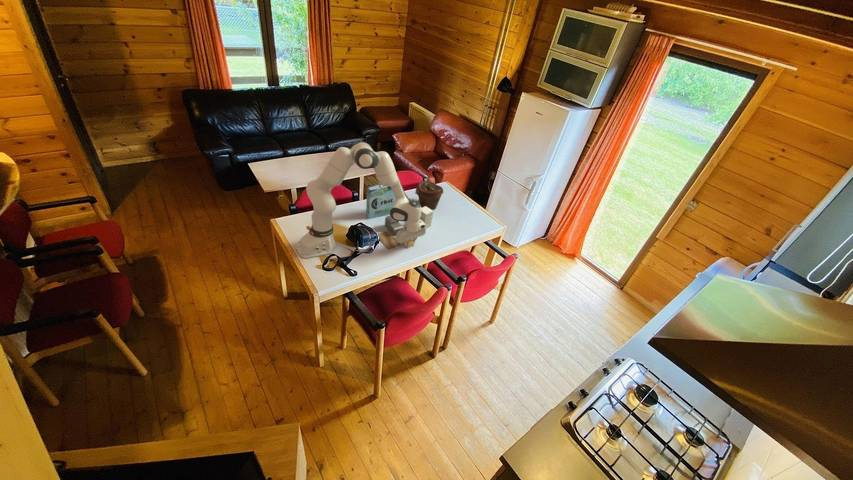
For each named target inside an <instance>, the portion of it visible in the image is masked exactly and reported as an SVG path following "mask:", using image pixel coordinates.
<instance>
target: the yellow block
mask: <svg viewBox="0 0 853 480" xmlns="http://www.w3.org/2000/svg"><path fill="white" fill-rule="evenodd" d="M404 243H405V242H402V244H404ZM407 243H408V245H407V246H406V247H407V248H408V249H409V248H412V247H414V245H415V243H414V241H413V239H411V240H408V241H407Z"/></svg>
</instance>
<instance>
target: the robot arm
mask: <svg viewBox="0 0 853 480" xmlns="http://www.w3.org/2000/svg"><path fill="white" fill-rule="evenodd" d="M355 164H356V166H357V167H359V168H360V169H362V170H366V169H367V170H368V169H373V171H374V173H375V176H376V179H377V181H378V183H379V184H381V185H383V186H391V188H392V191H393V193H394V195H395V202H394V204H393V206H392V208H391V210H390V214H389V216H391V218H392V219H394V220H396V221H399V222H404V226H403V227H404V228H403V229H399V231H398V230H396V236H395V240H396V241H397V242H398V243H400V244H404V246H405V247H407V245H408V243H407V241H408V240H411V239H412V240H413V241H414V244H415V243H416V241H417V239H418V238H419V237H422V236H425V234H426V231H427V228H426V224H425V223H424V222H423V221H422V220H420V217H421V205H420V204H419V201H417V200H414V199H412V200H411V199H410V198H409V196H408V195H407V194H406V192H405V190H404V187H403V185H402V182H401V180H400V177H399V176H398V173H397V171H396V167H395V165H394V162H393V159H392V158H391V156H390V154H389V153H388V152H386V151H384V150H383V151H381V150H380V151H374V149H373V148H372V147H371V145H370V144H369V143H367V142H366V141H363V140H362V141H358V142H356V143H354V144H353V145H351V146H349V147H345V146H340V147H338V148H337V149H336V150H335V151H334V153H333V154H332V156H331V157H330V159H329V160H328V162H327V164H326V165H325V167H324V169H323V170H322V172H321V173H320V174H319V176H318V177H317V178H316V179H314V180H310V181H309V182H308V183H307V184H306V187H305V190H306V194H307V196H308V198H309V200H310V202H311V203H312V206H313V212H312V213H311V222H312V223H311V226H309V225H306V230H307V231H308V232H307V233H306V234H304V235H303V236H302V237H301V238H300V241H299V242H298V243H297V244H296V246H295V248H296V251H297V254H299V256H300V257H302V258H304V259H310V258H317V257H323V256H327V255H331V254H332V253H333V250H334V249H335V248H336V246H337V244H336V241H335V238H334V225H333V213H334V212H335V211H336V209H337V203H336V200H335V198H334V196H333V195H332V193H331V192H332V190H333V189H334V187H336V186H337V187H338V186H340V185H341V184H342V182H343V180H345V177H346V176H347V174H348V173H349V171H350V169H351V167H353V166H354V165H355ZM403 242H405V243H403Z"/></svg>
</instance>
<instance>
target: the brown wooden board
mask: <svg viewBox="0 0 853 480" xmlns="http://www.w3.org/2000/svg"><path fill="white" fill-rule="evenodd" d="M377 234H378V236H379V239H378V240H379V241H380V242H381V243H382V244H383V245H384V246H385V248H386V249H387V250H390V249H395V248H396V247H400V246H401V245H402V243H398V242H397V241H396V240H395V239H396V237H395V236H393V234H392V233H391V232H390V231H389V230H385V231H383V232H379V233H377Z"/></svg>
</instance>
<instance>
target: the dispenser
mask: <svg viewBox="0 0 853 480" xmlns="http://www.w3.org/2000/svg"><path fill="white" fill-rule="evenodd" d="M384 219H385V220H384V227H385V228H386V230H387V231H388V232H389V233H390V234H391V235H392V236H393V237H396V234H397V231H399V229H403V228H404V226H403V224H401V223H400V221H396V220H394V219H392V218H391V216H390V215H388V216H387V215H386V217H384Z"/></svg>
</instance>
